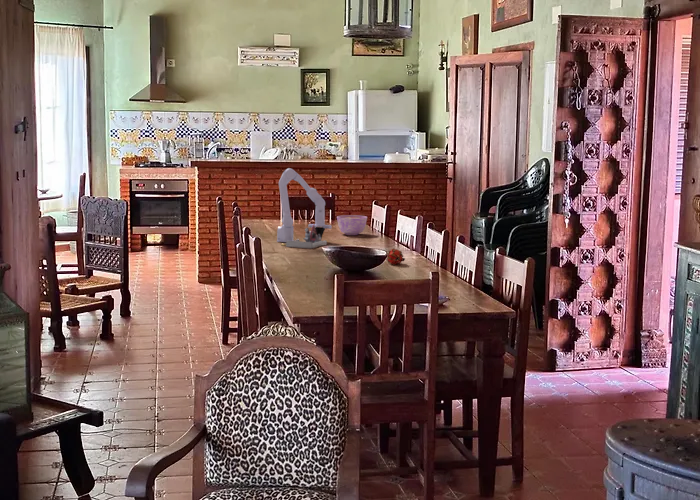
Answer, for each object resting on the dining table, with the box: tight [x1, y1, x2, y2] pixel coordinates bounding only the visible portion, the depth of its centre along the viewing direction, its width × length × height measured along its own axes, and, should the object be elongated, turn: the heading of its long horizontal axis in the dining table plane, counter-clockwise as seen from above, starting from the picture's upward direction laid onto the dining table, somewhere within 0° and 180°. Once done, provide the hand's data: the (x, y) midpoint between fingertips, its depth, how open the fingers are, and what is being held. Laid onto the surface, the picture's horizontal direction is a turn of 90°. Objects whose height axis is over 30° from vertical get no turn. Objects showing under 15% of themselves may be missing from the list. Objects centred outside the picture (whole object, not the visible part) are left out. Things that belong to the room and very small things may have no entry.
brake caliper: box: [302, 225, 322, 243], centre depth 511 cm, size 11×11×12 cm
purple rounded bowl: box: [336, 214, 368, 236], centre depth 553 cm, size 20×20×12 cm
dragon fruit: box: [387, 248, 406, 266], centre depth 438 cm, size 8×8×12 cm
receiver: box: [285, 238, 328, 249], centre depth 499 cm, size 19×19×4 cm
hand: (319, 239), depth 518 cm, fingers closed
